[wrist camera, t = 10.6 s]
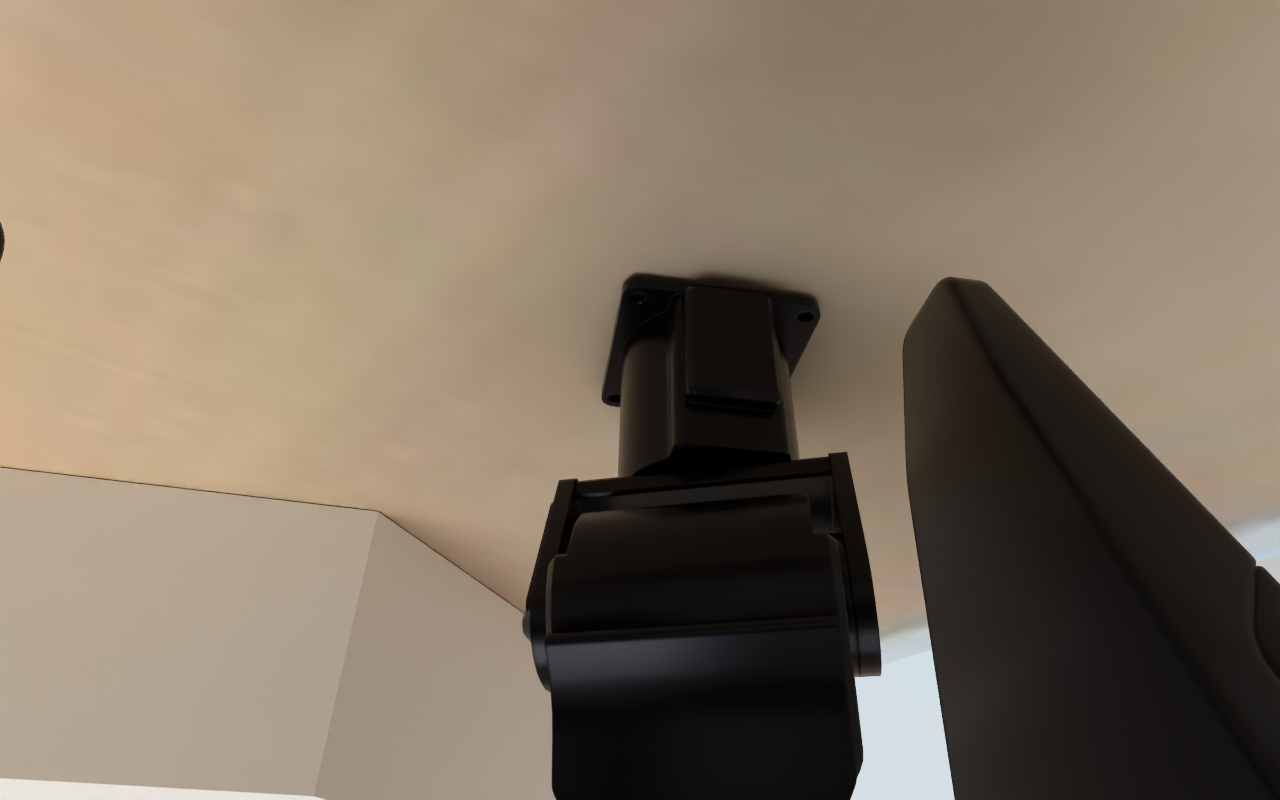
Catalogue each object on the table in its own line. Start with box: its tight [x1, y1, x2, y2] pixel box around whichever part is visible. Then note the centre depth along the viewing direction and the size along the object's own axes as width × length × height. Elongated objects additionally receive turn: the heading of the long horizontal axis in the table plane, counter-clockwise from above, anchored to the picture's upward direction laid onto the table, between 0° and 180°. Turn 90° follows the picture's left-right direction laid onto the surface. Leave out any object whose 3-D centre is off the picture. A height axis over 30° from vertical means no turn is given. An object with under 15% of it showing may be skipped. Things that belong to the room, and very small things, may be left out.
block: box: [0, 468, 556, 800], centre depth 41 cm, size 18×35×12 cm, turn 50°
